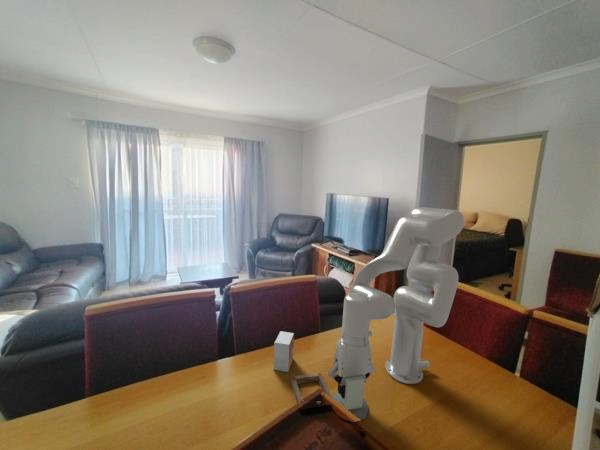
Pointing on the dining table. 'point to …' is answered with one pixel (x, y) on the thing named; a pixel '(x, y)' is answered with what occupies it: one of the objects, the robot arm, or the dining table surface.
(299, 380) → the frame
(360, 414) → the coaster
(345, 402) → the sage block
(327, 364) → the dining table surface
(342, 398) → the robot arm
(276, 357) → the small box
